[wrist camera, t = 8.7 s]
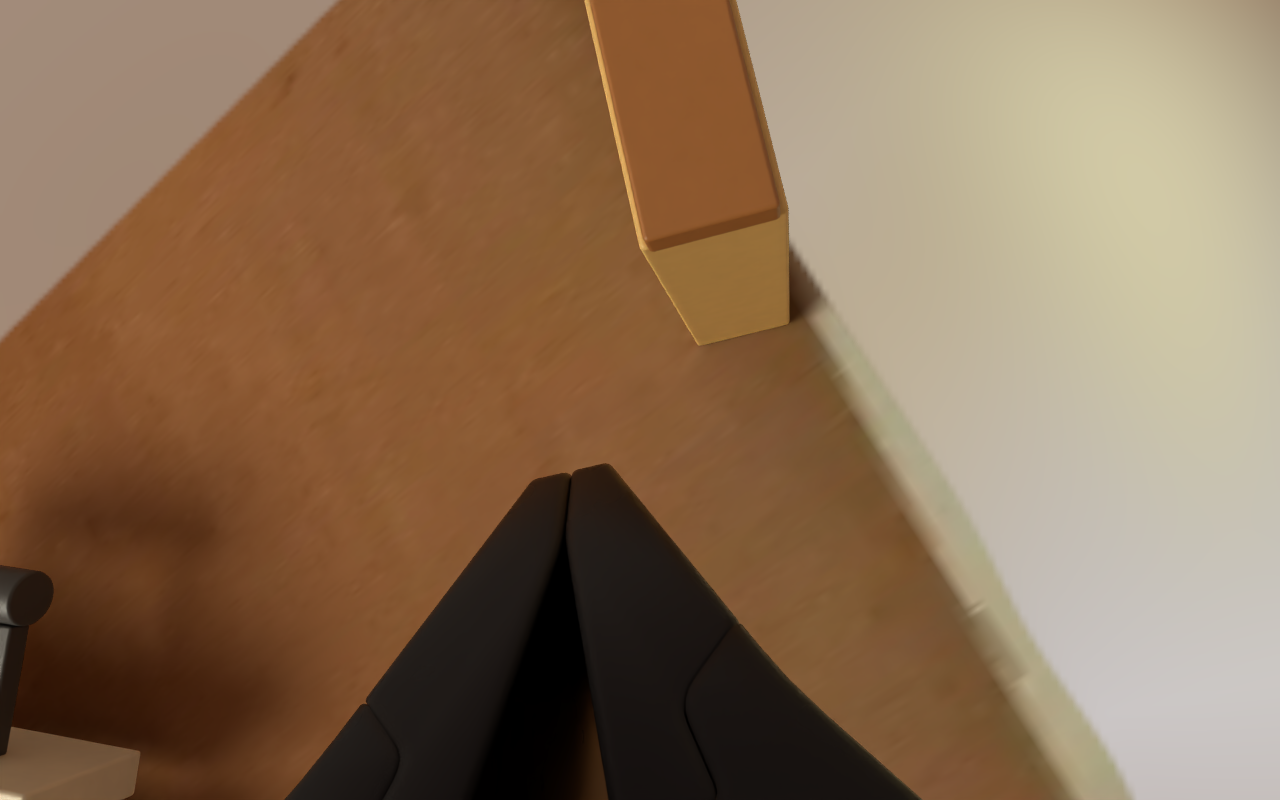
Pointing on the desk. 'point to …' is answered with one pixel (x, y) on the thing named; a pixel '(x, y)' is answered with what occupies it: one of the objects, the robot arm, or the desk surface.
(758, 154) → the tan flat block
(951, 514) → the desk surface
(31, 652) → the desk surface
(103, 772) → the drawer
